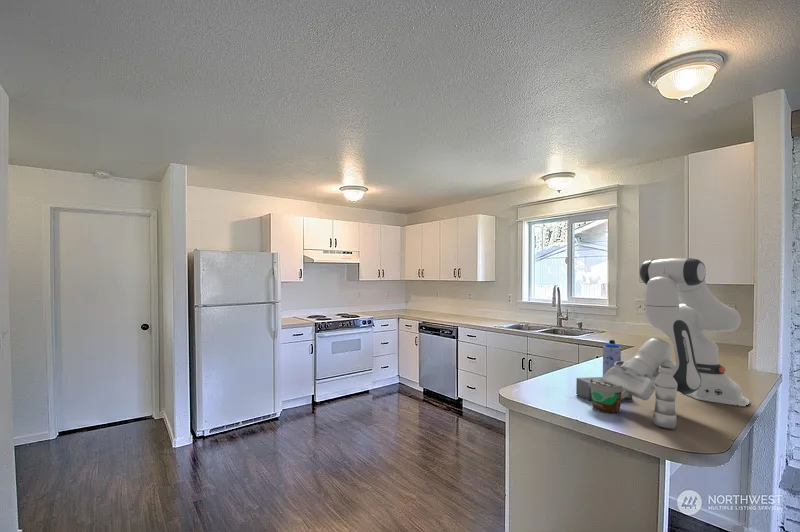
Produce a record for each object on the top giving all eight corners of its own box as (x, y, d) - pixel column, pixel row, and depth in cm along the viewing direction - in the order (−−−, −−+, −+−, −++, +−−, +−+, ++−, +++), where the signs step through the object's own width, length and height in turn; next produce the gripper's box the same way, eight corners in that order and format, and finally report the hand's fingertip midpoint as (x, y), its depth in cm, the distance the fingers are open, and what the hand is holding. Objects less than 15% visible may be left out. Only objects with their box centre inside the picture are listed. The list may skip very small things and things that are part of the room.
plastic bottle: (655, 421, 135) (656, 363, 136) (678, 427, 130) (679, 367, 131) (650, 426, 131) (651, 366, 131) (674, 432, 126) (675, 370, 126)
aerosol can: (622, 386, 179) (623, 342, 179) (603, 383, 182) (603, 340, 182) (619, 381, 186) (620, 339, 187) (601, 379, 189) (601, 338, 189)
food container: (582, 407, 149) (581, 381, 149) (590, 403, 152) (590, 377, 152) (615, 417, 139) (615, 389, 139) (624, 413, 142) (623, 385, 142)
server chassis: (617, 392, 168) (617, 376, 168) (632, 399, 160) (633, 381, 160) (576, 394, 164) (576, 377, 164) (590, 401, 156) (590, 383, 156)
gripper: (666, 385, 138) (642, 414, 136) (622, 371, 158) (600, 396, 156) (655, 373, 137) (631, 402, 135) (612, 360, 157) (591, 385, 155)
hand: (614, 399), depth 146 cm, fingers closed
